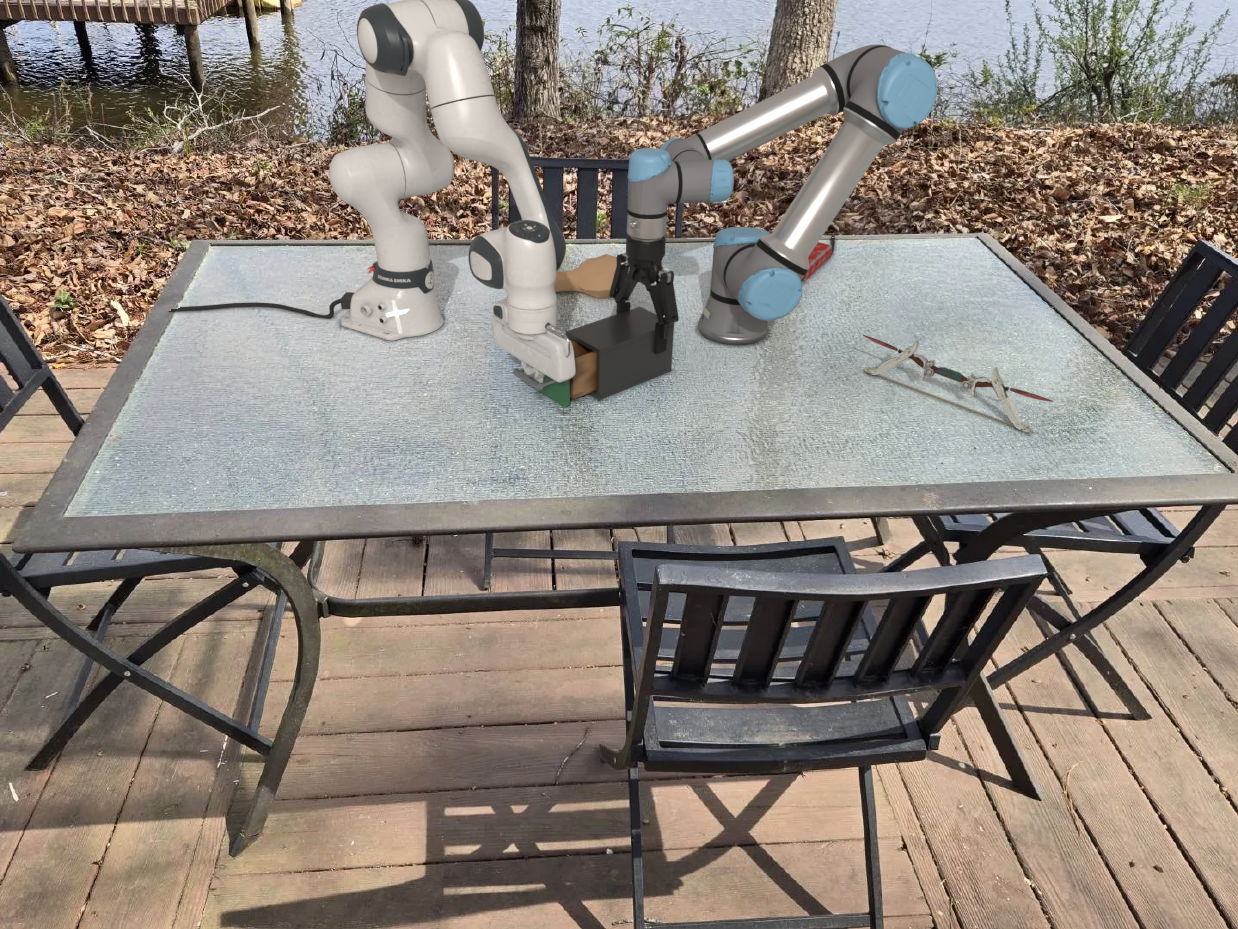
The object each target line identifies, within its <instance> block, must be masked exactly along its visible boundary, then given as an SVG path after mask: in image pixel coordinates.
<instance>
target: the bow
mask: <svg viewBox="0 0 1238 929" xmlns="http://www.w3.org/2000/svg"><path fill="white" fill-rule="evenodd" d="M862 336H863V338H864V337H865V338H866V339H868V340H869V341H871V342H873V343H874V344H877V345H880V346H882V347H884V348H887V349H889V350H893V351H896V352H897V353H898V355H897V356H894V357H892V358H890V359H888V360H886V361H883V363H881V364H880V365H879V366H878V367H870V366H868V367H866V368H865V369H864V371H865V373H867V374H868V375H871V376H878V377H880V378H884V379H886V380H888V381H891V382H894V383H896V384H899V385H901V386H904V387H906V388H910V389H913V390H915V391H918V392H921V393H924V394H926V395H928V396H931V397H934V398H937V399H939V400H942V401H944V402H947V403H949V404H953V405H956V406H958V407H960V408H963V409H967V410H969V411H970V412H971V411H972V412H975V413H977V414H979V415H981V416H982V415H983V416H985V417H988V418H991V419H993V420H996V421H998V422H1001V423H1004V424H1007V425H1009V426H1012V427H1015V429H1016V430H1019V431H1021V432H1024V433H1030V432H1031V431H1032V430H1033V428H1032V427H1030V425H1027V424H1026V423H1025V422H1024V421H1022V420H1021V418H1020V414H1019V411H1018V409H1017V407H1016V406H1015V404H1014V402H1013V400H1012V399H1011V398H1010V397H1009V395H1008V393H1007V392H1009V391H1010V392H1012V393H1014V394H1018V395H1021V396H1023V397H1027V398H1031V399H1034V400H1038V401H1044V402H1050V403H1054V402H1055V400H1053V399H1049V398H1047V397H1044V396H1041V395H1038V394H1036V393H1032V392H1029V391H1026V390H1022V389H1019V388H1014V387H1009V386H1006V385H1005V384H1004V383H1005V381H1004V380H1003V378H1002V377H1001V375H1000V371H999V368H998V367H997V366H995V367H994V368H993V369H992V372H991V376H990V378H988V377H986V376H977V375H975V373H972V374H971V375H969V376H968V377H966V376H965V375H964V374H962V373H961V372H959V371H956V370H954V369H950V368H948V367H944V366H939V367H938V366H936V360H935V359H933V360H932V359H931V360H930V359H929V360H928V359H927V358H926V356H925V355H922V354H920V353H919V354H918V353H916V352H917V350H918V348H919V343H920V340H916V341H914V342H913V343H912V344H911V345H910V346H908V347H906V348H905V349H904V350H902V349H898V348H897V347H896V346H894V345H891V343H887V342H885V341H883V340H880V339H877V338H876V337H875V338H874V337H872V336H869V335H866V334H862ZM915 353H916V354H915ZM909 360H912V361H913V362H914V363H915V364H916V365H917V366H919V367H920V368H922V369H921V372H920V374H919V377H918V379H919V380H922V381H923V380H924V379H926V376H927V377H930V378H932V377H933V376H935V374H936V375H939V376H941V377H944V378H947V379H950V380H952V381H956V382H958V383H961V388H962V389H963V390H965V391H969V393H968V394H969V396H968V398H971V399H974V398H975V397H976V394H977V390H976V389H977V388H991V389H992V390H993V391H994V393H995V394H996V396H997V398H998V399H999V401H1000V403H1001V406H1002V408H1003V410H1004V411H1005V413H1006V415H1007V418H1008V419H1009V421H1010V422H1011V423H1009V422H1006V421H1004V420H1001V419H998V418H996V417H993V416H990V415H987V414H985V413H983V412H979V411H977V410H975V409H971V408H969V407H966V406H963V405H961V404H958V403H956V402H953V401H950V400H947V399H945V398H942V397H939V396H937V395H934V394H931V393H928V392H926V391H923V390H921V389H918V388H915V387H912V386H910V385H907V384H904V383H902V382H898V381H896V380H894V379H891V378H888V377H885V376H883V375H881V374H883V373H888V371H890V370H892V369H893V368H895V367H896V366H898V365H900V364H902V363H904V362H906V361H907V362H908V361H909Z"/></svg>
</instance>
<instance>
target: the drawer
mask: <svg viewBox="0 0 1238 929" xmlns="http://www.w3.org/2000/svg"><path fill="white" fill-rule="evenodd" d="M570 341H571V343H572V346H573V350H574V358H575V375H574V376H573V377H572V378H571V379H569V380H566V381H564V382H560V383H559V382H557V381H555V380H553V379H552V378H550V377H548V376H547V375H544V377H543V382H542V383H540V382H539V381H537V380H535V379H534V378H532V377H531V376H529V375H527V374H526V373H525V372H524V369H523V368H517V367H516V368H514V369H513V371H512V374H513V376H515V377H517V378H519V379H520V380H522V381H523V382H525V383H526V384H528V385H529V386H531V387H533V388H535V390H536V391H538V392H539V393H541V394H543V395H545V396H546V397H548V398H549V399H551V400H552V401H554V402H556V403H557V404H559V405H560V406H562V407H564V408H567V407H570V406H571V399H572V400H575V399H578V398H580V397H583V396H585V395H589V394H588V393H590V392H593V391H596V362H597V353H596V352H594V351H592V350H591V349H589V348H587V347H585V346H583V345H581V344H580V343H578V342H576V341H574V340H570Z"/></svg>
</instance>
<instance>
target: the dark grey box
mask: <svg viewBox="0 0 1238 929" xmlns="http://www.w3.org/2000/svg"><path fill="white" fill-rule="evenodd" d="M657 322H659V321H658V318H657V315H656V313H654V312H652V311H650V310H648V309H645V308H644V307H642V306H637V307H634V308H630V310H628V311H625V312H622V313H619V314H614V315H610V316H607V317H604V318H602V319H599V320H596V321H592V322H590V323H587V324H583V325H581V326H577V327H575V328H572V329H569V330H566V331H565V333H566V336H567V337H568V339H569V340H574V341H576V342H578V343H580V344H581V345H583V346H585V347H587V348H589V349H591V350H592V351H594V352H596V353H597V362H596V391H593V392H590V393H588V394H587V395H589V396H591V397H593V398H595V399H596V400H598V401H600V400H603V399H605V398H608V397H611V396H612V395H616V394H618V393H620V392H623V391H625V390H627V389H630V388H633V387H636V386H637V385H640V384H642V383H645V382H647V381H648V382H649V381H650V380H652V379H654V378H657V377H659V376H662V375H665V374H668V373H669V372H672V365H673V351H674V350H673V347H674V334H675V332H674V331H675V322H674V323H672V324H670V330H669V337H668V338H667V347H666V351H664V352H662V353H659V354H654V342H655V323H657Z"/></svg>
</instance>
